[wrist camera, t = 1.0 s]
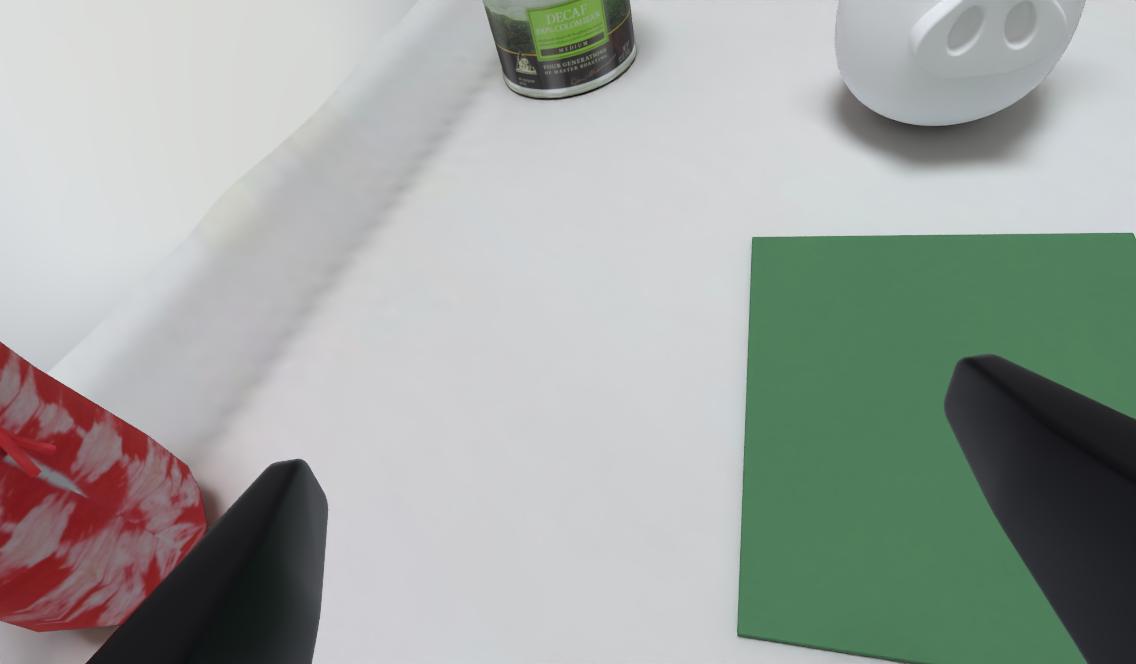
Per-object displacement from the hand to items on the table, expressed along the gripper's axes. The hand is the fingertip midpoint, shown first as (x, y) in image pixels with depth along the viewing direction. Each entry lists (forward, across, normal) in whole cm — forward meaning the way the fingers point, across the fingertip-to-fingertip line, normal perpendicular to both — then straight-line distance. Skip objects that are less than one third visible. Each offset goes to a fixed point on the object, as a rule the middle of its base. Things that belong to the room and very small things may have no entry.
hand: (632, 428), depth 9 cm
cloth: (+10, -14, +13) cm, 21 cm away
